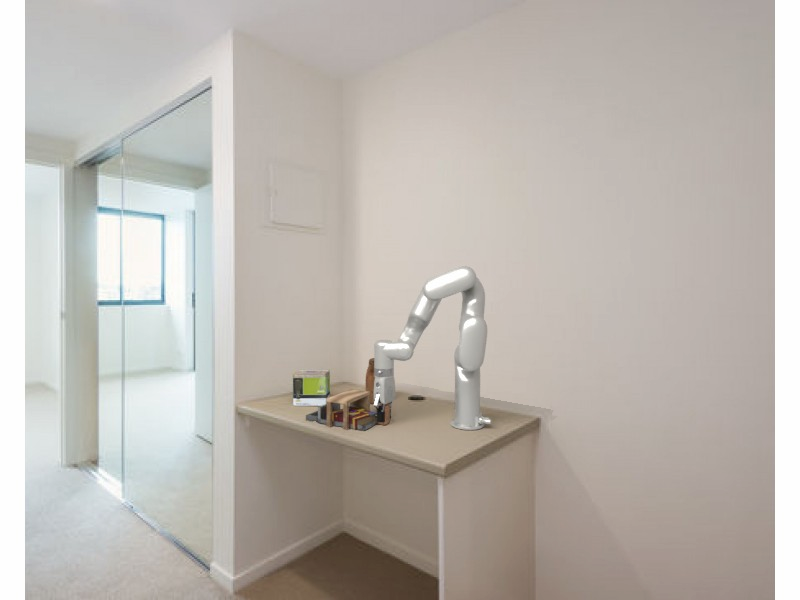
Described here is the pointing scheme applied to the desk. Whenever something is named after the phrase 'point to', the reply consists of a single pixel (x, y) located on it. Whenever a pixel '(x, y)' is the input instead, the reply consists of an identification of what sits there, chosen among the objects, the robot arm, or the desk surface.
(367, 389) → the block
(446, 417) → the desk surface
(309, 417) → the gray frame
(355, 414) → the decorative book
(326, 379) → the tea box
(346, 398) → the wooden arch stand
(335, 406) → the tray
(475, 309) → the robot arm
